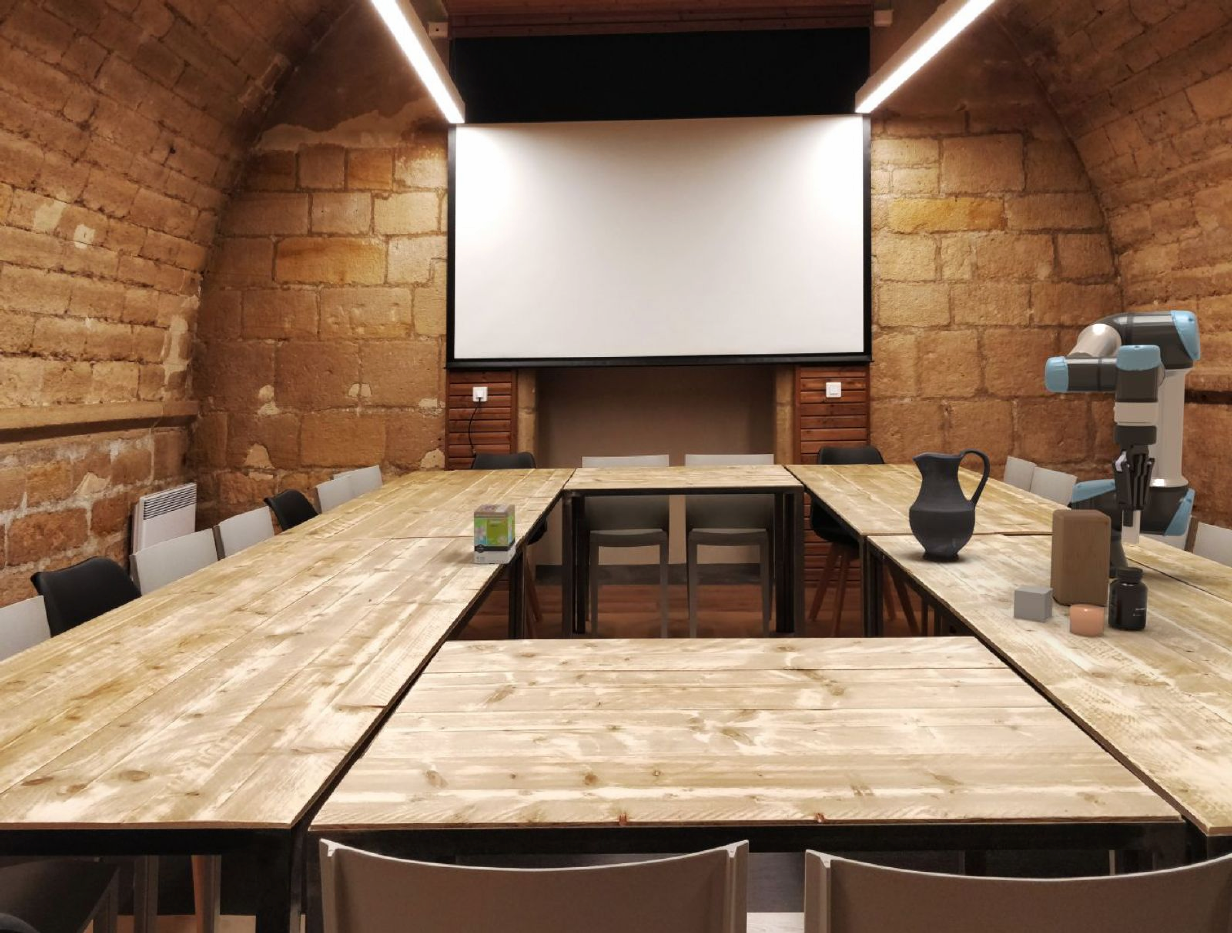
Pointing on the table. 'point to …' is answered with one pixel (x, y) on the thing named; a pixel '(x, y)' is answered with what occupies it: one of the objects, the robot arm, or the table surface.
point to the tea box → (494, 534)
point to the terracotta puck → (1086, 620)
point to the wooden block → (1080, 557)
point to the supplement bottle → (1128, 600)
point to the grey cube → (1033, 603)
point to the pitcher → (944, 505)
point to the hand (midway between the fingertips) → (1130, 542)
